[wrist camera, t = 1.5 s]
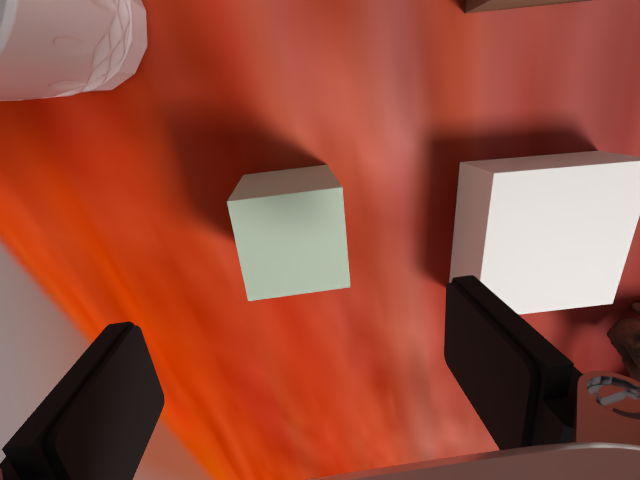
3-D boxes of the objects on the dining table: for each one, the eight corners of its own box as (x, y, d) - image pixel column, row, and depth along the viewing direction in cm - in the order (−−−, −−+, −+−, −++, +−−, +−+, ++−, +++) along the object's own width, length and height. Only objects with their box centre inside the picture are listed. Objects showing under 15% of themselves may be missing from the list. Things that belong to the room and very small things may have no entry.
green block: (243, 174, 20) (227, 201, 15) (327, 164, 20) (342, 187, 15) (257, 251, 22) (248, 301, 16) (334, 241, 22) (350, 287, 17)
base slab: (457, 161, 21) (493, 173, 18) (593, 149, 22) (656, 159, 18) (446, 286, 25) (475, 319, 21) (564, 274, 25) (612, 303, 22)
